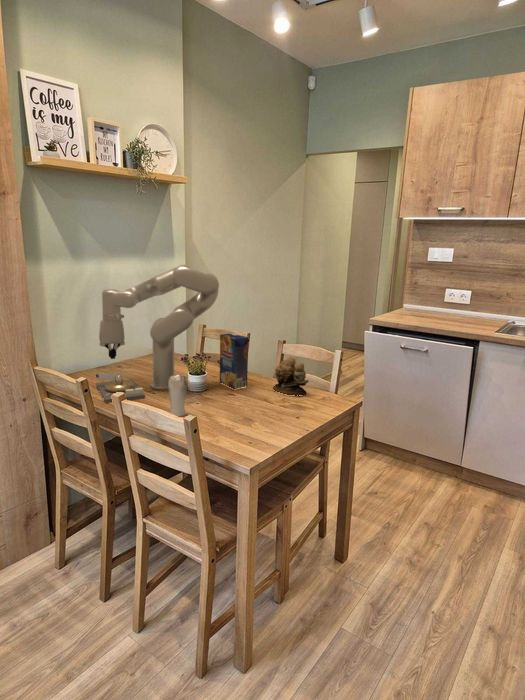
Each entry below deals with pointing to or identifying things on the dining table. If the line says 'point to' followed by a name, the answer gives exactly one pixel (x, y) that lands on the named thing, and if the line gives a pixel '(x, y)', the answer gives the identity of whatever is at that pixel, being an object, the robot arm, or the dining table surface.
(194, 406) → the dining table surface
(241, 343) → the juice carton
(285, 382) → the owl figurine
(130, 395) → the level stand
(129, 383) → the cam foot
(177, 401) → the beer glass
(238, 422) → the dining table surface
